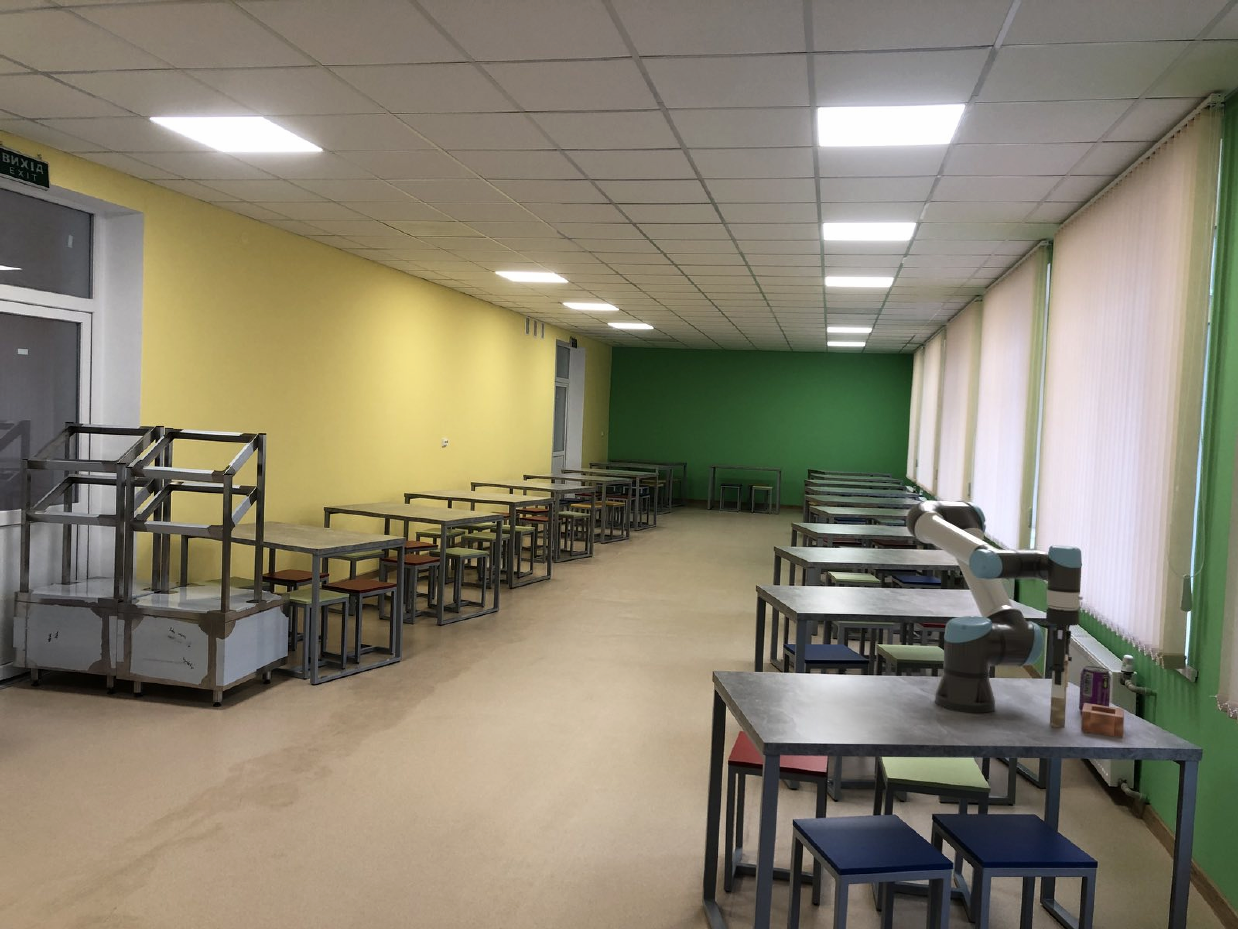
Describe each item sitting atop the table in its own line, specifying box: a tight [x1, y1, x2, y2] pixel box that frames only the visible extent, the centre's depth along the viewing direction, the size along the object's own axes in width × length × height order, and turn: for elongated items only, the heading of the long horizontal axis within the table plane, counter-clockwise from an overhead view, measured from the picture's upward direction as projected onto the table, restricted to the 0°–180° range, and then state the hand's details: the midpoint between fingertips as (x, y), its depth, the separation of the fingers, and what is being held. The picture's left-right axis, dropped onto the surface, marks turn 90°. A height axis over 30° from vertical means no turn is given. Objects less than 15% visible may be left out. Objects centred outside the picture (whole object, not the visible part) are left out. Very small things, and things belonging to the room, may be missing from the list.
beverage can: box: [1078, 665, 1111, 712], centre depth 245 cm, size 7×7×12 cm
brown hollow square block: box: [1080, 703, 1125, 739], centre depth 230 cm, size 9×9×5 cm
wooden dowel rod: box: [1049, 654, 1069, 729], centre depth 232 cm, size 4×4×18 cm
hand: (1059, 692), depth 232 cm, fingers open, 13 cm apart
